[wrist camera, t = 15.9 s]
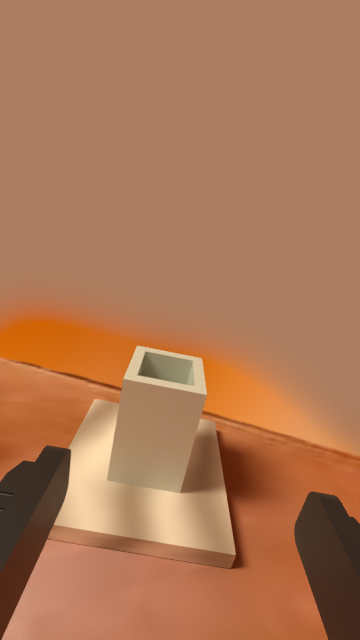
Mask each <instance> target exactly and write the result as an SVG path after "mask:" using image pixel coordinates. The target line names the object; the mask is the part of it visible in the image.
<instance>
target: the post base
mask: <svg viewBox="0 0 360 640" xmlns="http://www.w3.org/2000/svg"><path fill="white" fill-rule="evenodd" d="M118 409H119V403H114V402H109V401H104V400H98V399H95V400H94V402H93V404H92V405H91V407H90V409H89V411H88V413H87V415H86V417H85V418H84V420H83V422H82V424H81V426H80V428H79V430H78V431H77V433H76V435H75V437H74V439H73V441H72V443H71V444H70V446H69V448H68V449H70V450H71V461H70V473H69V485H68V490H67V493H66V497H65V500H64V503H63V505H62V507H61V510H60V512H59V514H58V516H57V518H56V521H55V523H54V525H53V527H52V529H51V531H50V534H49V536H48V538H47V539H51V540H58V541H64V542H70V543H76V544H82V545H88V546H94V547H100V548H106V549H113V550H119V551H125V552H131V553H137V554H143V555H149V556H155V557H162V558H168V559H174V560H180V561H186V562H192V563H198V564H204V565H210V566H217V567H223V568H229V569H231V567H232V564H233V561H234V559H235V556H236V552H235V546H234V539H233V533H232V527H231V521H230V514H229V508H228V502H227V495H226V489H225V483H224V476H223V470H222V464H221V458H220V451H219V445H218V439H217V432H216V426H215V421H210V420H205V419H200V422H199V425H198V429H197V433H196V436H195V440H194V444H193V447H192V451H191V455H190V458H189V462H188V466H187V469H186V473H185V477H184V480H183V484H182V488H181V491H180V493H175V492H169V491H163V490H158V489H152V488H146V487H141V486H135V485H129V484H123V483H118V482H112V481H107V475H108V469H109V463H110V457H111V451H112V445H113V439H114V433H115V427H116V421H117V415H118Z"/></svg>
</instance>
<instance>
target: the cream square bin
mask: <svg viewBox="0 0 360 640" xmlns="http://www.w3.org/2000/svg"><path fill="white" fill-rule="evenodd" d="M206 396H207V393H206V385H205V378H204V370H203V364H202V358H197V357H192V356H187V355H182V354H177V353H172V352H167V351H162V350H157V349H152V348H147V347H142V346H137V348H136V350H135V353H134V355H133V358H132V360H131V362H130V364H129V367H128V369H127V372H126V374H125V376H124V379H123V385H122V391H121V397H120V403H119V409H118V415H117V421H116V427H115V433H114V439H113V445H112V451H111V457H110V463H109V469H108V475H107V481H112V482H118V483H123V484H129V485H135V486H141V487H146V488H152V489H158V490H163V491H169V492H175V493H180V491H181V488H182V484H183V480H184V477H185V473H186V469H187V466H188V462H189V458H190V455H191V451H192V447H193V444H194V440H195V436H196V433H197V429H198V425H199V422H200V418H201V414H202V411H203V407H204V403H205V400H206Z"/></svg>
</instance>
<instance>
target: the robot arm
mask: <svg viewBox="0 0 360 640" xmlns="http://www.w3.org/2000/svg"><path fill="white" fill-rule="evenodd" d="M70 461H71V450H70V449H66V448H60V447H54V446H46V447H45V448H44V449H43V451H42V452H41V454H40V455H39V457H38V458H37V460H36V461H35V462H30V461H23V462H21V463H20V464H19V465H17V466H16V467H15V468H13V469H12V470H11V471H9V472H8V473H7V474H6V475H5V476H4V478H3V479H2V480H1V482H0V640H1V639H2V637H3V635H4V632H5V630H6V628H7V626H8V624H9V621H10V619H11V617H12V615H13V613H14V610H15V608H16V606H17V604H18V602H19V599H20V597H21V595H22V593H23V591H24V589H25V586H26V584H27V582H28V580H29V578H30V575H31V573H32V571H33V569H34V567H35V564H36V562H37V560H38V558H39V556H40V553H41V551H42V549H43V547H44V545H45V542H46V540H47V538H48V536H49V534H50V531H51V529H52V527H53V525H54V523H55V521H56V518H57V516H58V514H59V512H60V510H61V507H62V505H63V503H64V500H65V497H66V493H67V490H68V485H69V473H70ZM294 532H295V542H296V546H297V549H298V552H299V555H300V557H301V560H302V563H303V566H304V569H305V572H306V575H307V578H308V581H309V584H310V587H311V590H312V592H313V595H314V598H315V601H316V604H317V607H318V610H319V613H320V616H321V619H322V622H323V625H324V627H325V630H326V633H327V636H328V639H329V640H360V524H359V523H358V522H357V520H356V519H355V518H354V517H349V515H348V514H347V512H346V510H345V508H344V506H343V505H342V503H341V501H340V500H339V499H338V497H336V496H335V495H329V494H323V493H317V492H310V493H309V494H308V496H307V498H306V501H305V503H304V505H303V507H302V510H301V512H300V514H299V516H298V519H297V521H296V523H295V531H294Z"/></svg>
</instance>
